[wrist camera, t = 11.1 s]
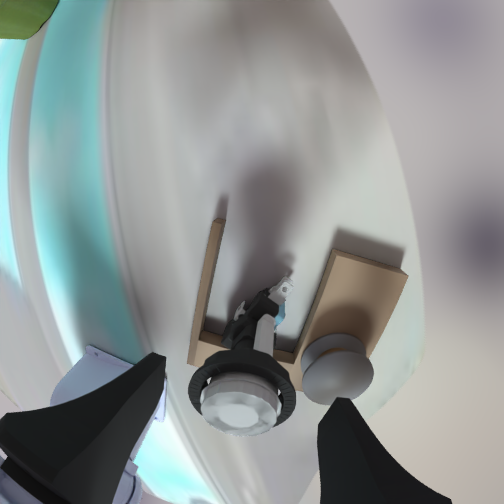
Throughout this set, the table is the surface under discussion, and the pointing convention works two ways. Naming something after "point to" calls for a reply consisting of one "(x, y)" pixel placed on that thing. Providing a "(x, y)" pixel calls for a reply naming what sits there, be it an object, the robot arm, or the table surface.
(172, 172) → the table surface
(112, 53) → the table surface
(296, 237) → the table surface
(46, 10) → the plant pot
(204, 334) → the notched board
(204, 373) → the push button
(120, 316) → the table surface
